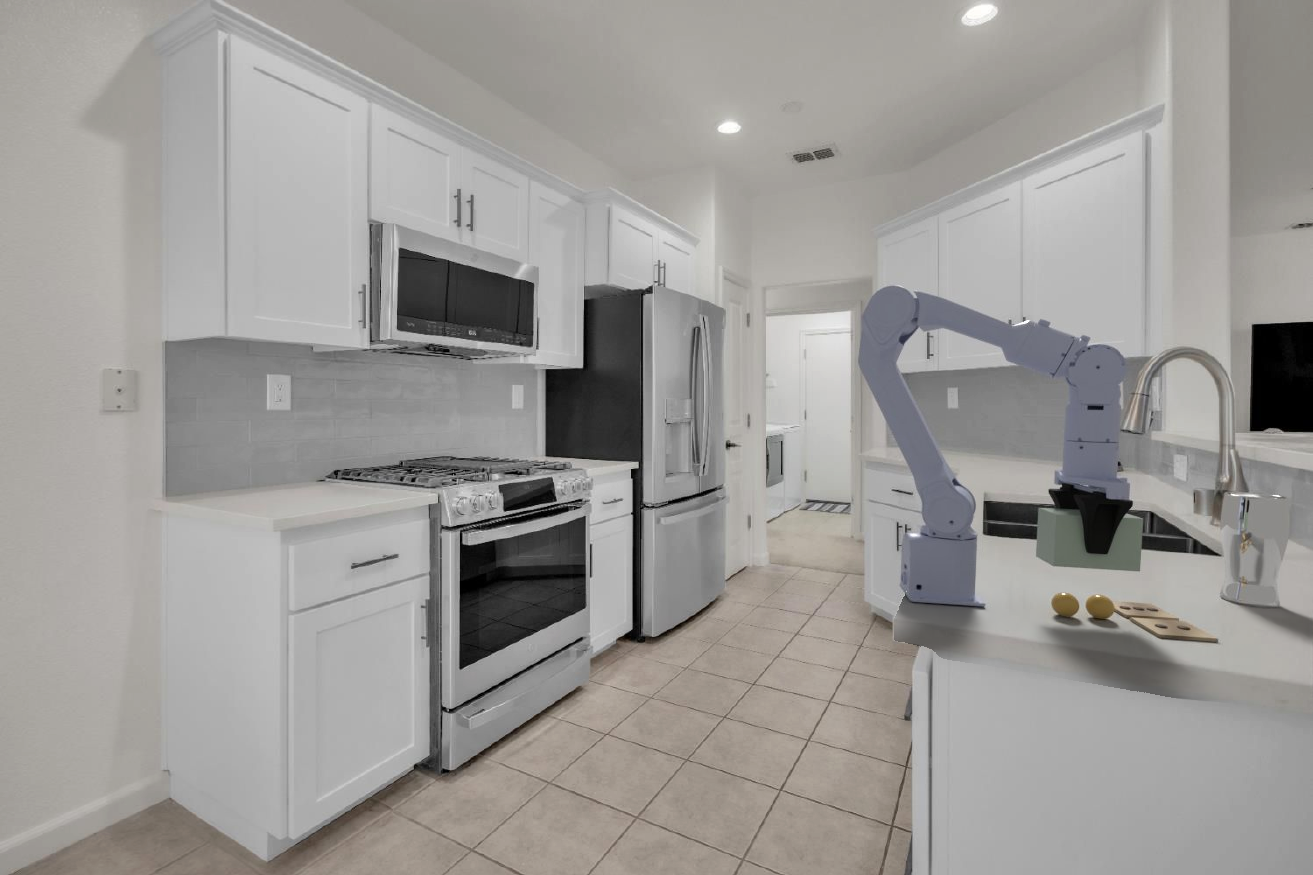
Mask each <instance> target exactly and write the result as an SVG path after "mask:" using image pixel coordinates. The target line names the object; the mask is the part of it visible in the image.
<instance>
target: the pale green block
mask: <svg viewBox="0 0 1313 875" xmlns="http://www.w3.org/2000/svg"><path fill="white" fill-rule="evenodd" d="M1037 514H1038V515H1037V528H1036V530H1037V531H1036V545H1035V546H1036V549H1035V550H1036V551H1035V557H1036V558H1038V559H1039V560H1042V561H1044V562H1045V563H1046V564H1048V565H1050V566H1053V567H1061V568H1078V569H1093V570H1108V571H1109V570H1111V571H1125V572H1126V571H1127V572H1141V563H1142V562H1141V561H1142V559H1141V558H1142V545H1143V527H1144V518H1142V517H1139V516H1136V515H1133V514H1129V513H1126V515H1125V516H1124V517H1123V519H1122V520H1121V522H1120V524H1119V526H1118V528H1117V530H1116V533H1115V535H1114V538H1113V541H1112V544H1111V547H1110V549H1109V552H1108V554H1090V553H1087V551H1086V548H1085V543H1084V529H1083V522H1082V517H1081V513H1080V510H1076V509H1056V508H1051V507H1050V508H1049V507H1038V508H1037Z"/></svg>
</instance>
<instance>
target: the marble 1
mask: <svg viewBox="0 0 1313 875" xmlns="http://www.w3.org/2000/svg"><path fill="white" fill-rule="evenodd" d="M1051 607H1052V610H1053V611H1054V612H1055V613H1057V614H1058V615H1059V616H1061V617H1066V618H1068V617H1072V616H1075V615H1077V613H1078V612H1079V610H1080V602H1079V600H1078V599H1077V597H1076V596H1075V595H1073V594H1071V593H1069V592H1066V591H1064V592H1059V593H1056V594H1055V595H1054V596H1053V597H1052V598H1051Z"/></svg>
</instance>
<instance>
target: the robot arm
mask: <svg viewBox="0 0 1313 875" xmlns="http://www.w3.org/2000/svg"><path fill="white" fill-rule="evenodd" d="M912 291H913V293H914V294H915V295H916V297H914V295H913V294H912V292H910V290H908V289H907V288H906V287H903V286H901V285H887V286H884V287H882V288H880V289H879V290H877V291H876V292H874V294H873V295H872V296H871V298H870V299H869V301H868V303H867V304H866V307H865V309H864V310H863V313H862V315H861V332H860V341H859V342H860V343H859V348H858V357H857V358H858V359H857V364H858V366H859V370H860V371H861V373H862V375H863V377H864V379H865V382H866V384H867V385H868V387H869V389H870V391H871V393H872V395H873V398H874V399H875V401H876V404H877V405H878V407H879V409H880V412H881V414H882V416H883V417H884V420H885V422H886V424H887V425H888V427H889V430H890V431H891V433H892V436H893V439H894V440H895V442H896V445H897V446H898V448H899V450H900V452H901V454H902V456H903V457H904V460H905V463H906V464H907V466H908V467H909V470H910V472H911V474H912V476H913V481H914V484H915V488H916V492H917V493H918V495H919V498H920V500H921V517H922V520H923V522H924V524H922V525H921V526H920V528H919V530H920V531H917V532H905V533H904V534H903V536H902V541H901V556H900V557H901V558H900V560H901V561H900V563H901V564H900V582H899V585H898V586H899V587H900V590H902V591H903V593H904V594H905V595H906V597H907V598H908V600H909V601H910V602H914V603H924V604H925V603H928V604H938V605H939V604H941V605H942V604H943V605H954V606H955V605H956V606H957V605H958V606H969V607H970V606H971V607H986V602H985V601H984V600H982V599H981V597H979V596H978V595H977V594H976V577H977V575H976V574H977V571H976V570H977V552H978V532H977V531H976V530H975V529H973V528H972V526H971V525H972V523H973V522H974V521H973V520H974V517H975V513H976V509H977V504H976V503H977V502H976V500H975V496H974V495H973V493H972V492H971V491H970V490H969V489H968V488H967V487H966V486H964V485H963V484H962V483H961V482H959V481H958V478H957V477H956V475H955V473H954V471H953V469H952V468H951V466H950V465H949V464H948V462H947V461H946V458H945V456H944V455H943V453H942V451H941V449H940V447H939V445H938V443H937V440H936V439H935V438H934V435H933V433H932V431H931V430H930V428H929V426H928V424H927V422H926V419H925V417H924V415H923V413H922V412H921V409H920V408H919V406H918V404H917V402H916V400H915V397H914V396H913V394H912V392H911V390H910V388H909V387H908V384H907V381H906V380H905V378H904V377H903V375H902V372H901V370H900V368H899V366H898V364H897V363H898V360H899V357H900V356H901V353H902V350H903V349H904V347H905V344H906V343H907V342H908V341H909V339H910V338H912V336H914V334H915V333H916V332H917V330H918V329H921V331H922V332H930V331H934V330H939V329H946V330H948V331H952V332H954V333H957V334H960V335H963V336H966V337H969V338H972V339H975V340H978V341H979V342H980V341H981V342H984V343H986V344H989V345H993V346H995V347H998V348H1000V349H1001V350H1002V352H1003V355H1004V358H1005V360H1006V361H1007V362H1009V363H1011V364H1014V365H1017V366H1019V367H1022V368H1025V369H1028V370H1029V371H1032V372H1035V373H1037V374H1041V375H1043V376H1045V377H1048V378H1051V379H1054V380H1059V379H1060V378H1063V379H1064V381H1066V383H1067V385H1068V393H1067V395H1068V396H1067V403H1066V404H1065V408H1064V409H1065V410H1064V429H1063V430H1064V432H1063V446H1062V447H1063V449H1062V470H1058V469H1056V470H1054V481H1053V484H1054V485H1056V486H1057V485H1058V486H1060V487H1059V488H1048V489H1047V490H1048V491H1047V492H1048V495H1049V496H1050V498H1051V500H1052V502H1053V504H1054V506H1055V509H1076V510H1080V513H1081V517H1082V522H1083V529H1084V543H1085V548H1086V551H1087V553H1090V554H1108V552H1109V549H1110V547H1111V544H1112V541H1113V538H1114V535H1115V533H1116V530H1117V528H1118V526H1119V524H1120V522H1121V520H1122V519H1123V517H1124V516H1125V515H1126V514H1128V512H1129V511H1130V510H1131V509H1132V507H1133V505H1134V500H1132V499H1130V494H1131V493H1130V490H1131V484H1130V482H1128V478H1127V477H1125V476H1118V467H1119V466H1118V465H1119V464H1118V463H1119V450H1120V449H1119V448H1120V430H1121V428H1120V427H1121V415H1122V414H1121V410H1122V406H1121V404H1120V400H1121V397H1122V396H1121V395H1122V392H1121V385H1120V384H1121V383H1122V382H1123V381H1124V380H1125V378H1126V376H1127V375H1128V372H1129V366H1128V365H1127V362H1126V359H1125V357H1124V355H1123V354H1122V353H1121V352H1120V351H1119V350H1118V349H1117V348H1115V347H1114V346H1111V345H1108V344H1103V343H1102V344H1101V343H1098V344H1090V345H1089V342H1090V341H1091V337H1090V336H1087V335H1084V334H1081V336H1080V337H1079V336H1076V335H1073V334H1070V333H1067V332H1064V331H1062V330H1058V329H1056V328H1052V327H1049V326H1050V325H1051V321H1048V320H1046V319H1042V318H1040V319H1039V320H1038V322H1035V321H1034V320H1033V321H1032V320H1029V319H1028V320H1025V321H1023V322H1020V323H1017V324H1014V325H1013V324H1010V323H1007V322H1005V321H1003V320H1000V319H997V318H995V317H992V316H989V315H988V314H985V313H982V312H979V311H978V310H974V309H973V308H969V307H967V306H965V305H962V304H959V303H957V302H954V301H952V300H949V299H947V298H944V297H941V296H937V295H934V294H931V293H927V292H925V291H919V290H914V289H913V290H912ZM906 591H907V592H906Z"/></svg>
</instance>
